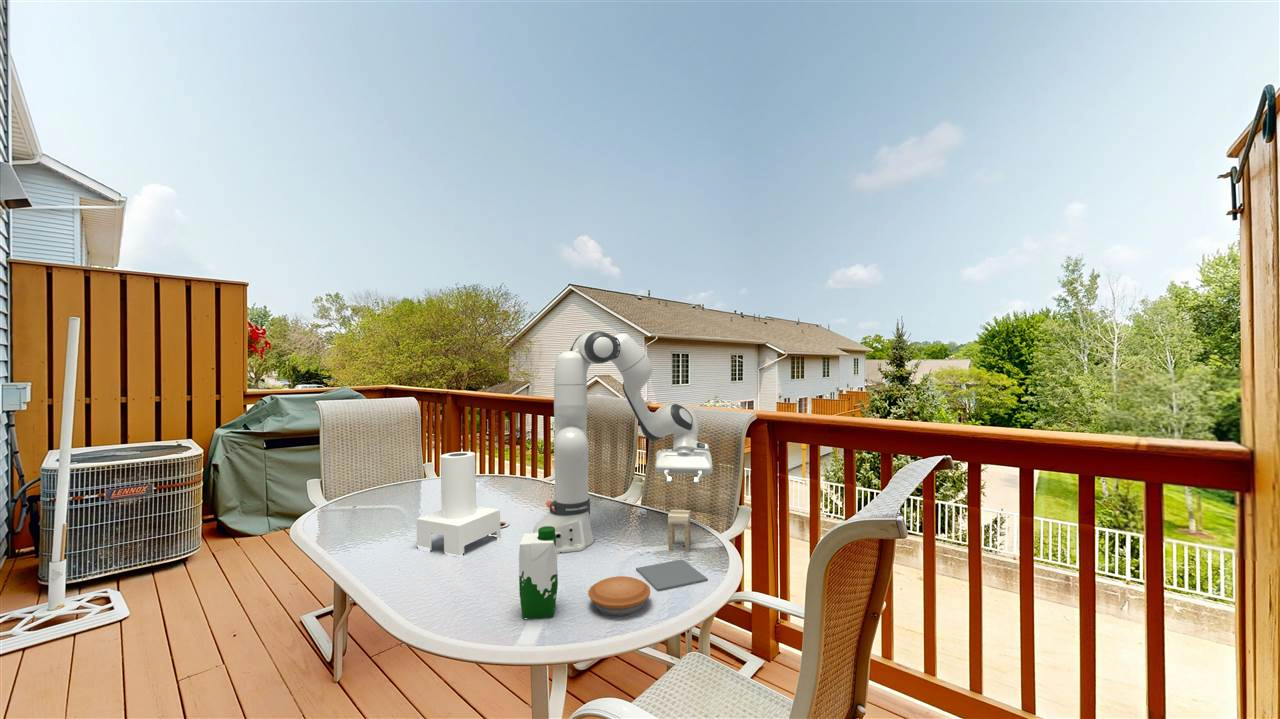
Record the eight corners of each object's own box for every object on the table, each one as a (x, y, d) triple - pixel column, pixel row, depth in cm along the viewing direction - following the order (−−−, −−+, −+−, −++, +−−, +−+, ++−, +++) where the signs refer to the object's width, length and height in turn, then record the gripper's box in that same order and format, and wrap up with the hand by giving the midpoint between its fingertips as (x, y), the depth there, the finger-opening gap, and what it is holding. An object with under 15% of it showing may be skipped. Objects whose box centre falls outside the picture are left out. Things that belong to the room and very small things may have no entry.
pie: (600, 626, 117) (600, 604, 117) (580, 598, 131) (580, 578, 131) (661, 612, 123) (661, 591, 123) (636, 586, 137) (635, 568, 137)
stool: (688, 551, 161) (688, 516, 161) (668, 550, 162) (667, 515, 162) (690, 544, 167) (690, 510, 167) (671, 543, 169) (670, 509, 169)
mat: (657, 591, 134) (657, 589, 134) (636, 570, 148) (636, 568, 148) (707, 580, 140) (707, 578, 140) (682, 561, 154) (682, 559, 154)
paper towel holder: (460, 531, 185) (458, 448, 185) (500, 538, 177) (498, 451, 177) (417, 549, 168) (415, 457, 168) (459, 558, 160) (457, 461, 160)
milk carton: (556, 619, 121) (555, 534, 120) (517, 621, 120) (515, 536, 120) (559, 601, 129) (557, 522, 129) (523, 604, 128) (521, 524, 128)
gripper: (655, 444, 185) (651, 477, 176) (712, 444, 181) (711, 478, 171) (657, 454, 189) (653, 487, 180) (713, 455, 185) (712, 488, 176)
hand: (682, 483), depth 176 cm, fingers open, 8 cm apart
